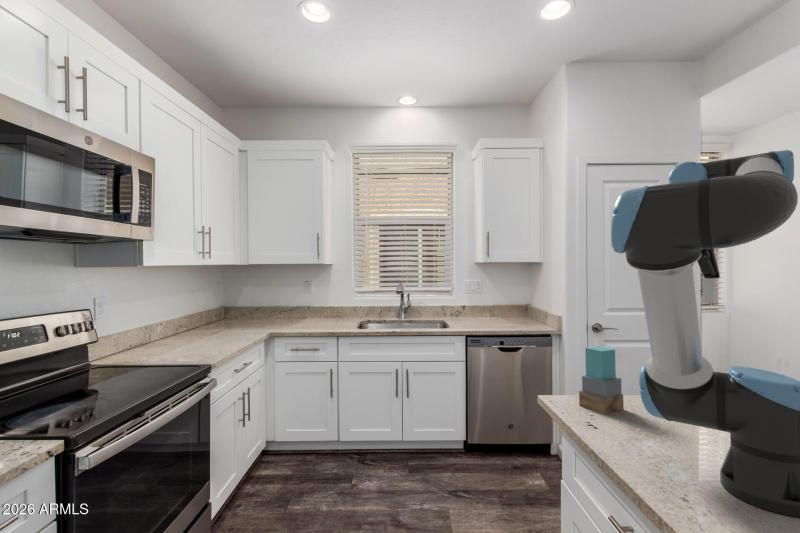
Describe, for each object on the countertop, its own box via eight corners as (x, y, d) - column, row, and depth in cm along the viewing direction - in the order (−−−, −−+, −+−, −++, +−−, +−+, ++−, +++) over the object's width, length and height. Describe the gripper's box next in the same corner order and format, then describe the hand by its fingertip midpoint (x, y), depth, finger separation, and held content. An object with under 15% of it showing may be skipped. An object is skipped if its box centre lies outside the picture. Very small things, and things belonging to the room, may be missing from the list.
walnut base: (604, 415, 119) (604, 398, 119) (579, 406, 127) (579, 391, 127) (623, 410, 123) (623, 394, 123) (597, 402, 131) (597, 387, 131)
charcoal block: (605, 398, 120) (605, 381, 120) (582, 391, 127) (582, 376, 127) (621, 394, 124) (621, 378, 124) (597, 387, 131) (597, 372, 131)
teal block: (601, 380, 121) (601, 351, 122) (585, 375, 127) (585, 348, 127) (615, 378, 124) (615, 349, 124) (599, 373, 129) (598, 346, 130)
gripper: (687, 218, 95) (689, 306, 94) (733, 224, 107) (735, 302, 107) (654, 222, 101) (656, 304, 101) (701, 227, 114) (703, 300, 113)
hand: (697, 303), depth 104 cm, fingers open, 13 cm apart
